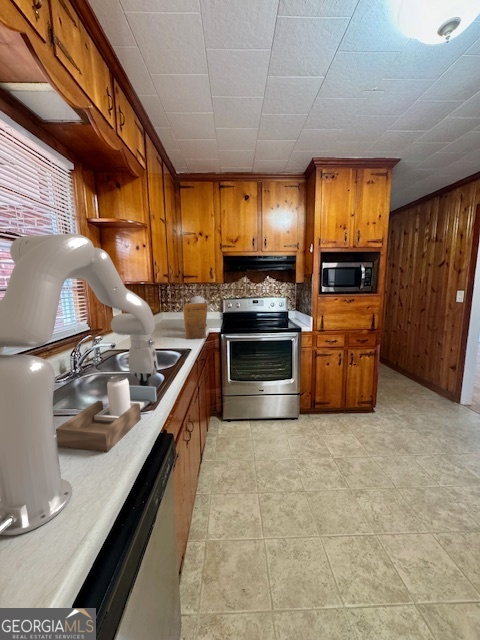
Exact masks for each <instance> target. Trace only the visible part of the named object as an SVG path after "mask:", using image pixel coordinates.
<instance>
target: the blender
mask: <svg viewBox="0 0 480 640" xmlns="http://www.w3.org/2000/svg"><path fill="white" fill-rule="evenodd" d="M195 303H207V311H209V301H208V299H206V298H205V297H201V295H195V296H194V297H191V298H190V304H195ZM206 327H207V323H206Z"/></svg>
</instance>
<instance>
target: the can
mask: <svg viewBox="0 0 480 640" xmlns="http://www.w3.org/2000/svg"><path fill="white" fill-rule="evenodd" d="M129 385H130V383H129V379H128V376H127V375H123V374H119V375H114V376H111V377H109V378H108V379H107V384H106V387H107V389H106V390H107V399H108V405H109V412H110V415H111V416H121V415H122V414H124V413H125V412H126V411H127V410H128V409H129V408H131V405H130V392H129Z"/></svg>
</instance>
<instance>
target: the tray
mask: <svg viewBox="0 0 480 640" xmlns="http://www.w3.org/2000/svg"><path fill="white" fill-rule="evenodd" d="M129 392H130V405H131V407H132V406H133V405H134V404H135V403H139V404H140V412H141V411H143V409H144V408H146V407H147V406H148V405H149V404H150V403H151V402H153V403H155V402H157V386H140V385H130V384H129ZM119 417H120V416H111V415H110V412H109V404H108V405H107V406H106V407H103V410H102V411H100V412H99V413H97V414H96V415H95V416H94V421H97V422H109V423H113V422H114V421H115V420H116V419H118V418H119Z"/></svg>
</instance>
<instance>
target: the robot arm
mask: <svg viewBox="0 0 480 640" xmlns="http://www.w3.org/2000/svg"><path fill="white" fill-rule="evenodd" d="M9 253H10V254H9V255H10V257H11V260H12V261H13V263H14V264H15V265H14V266H13V269H12V270H11V273H10V276H9V279H8V282H7V286H6V289H5V292H4V295H3V297H2V298H0V535H2V536H14V535H15V536H16V535H20V534H25V533H27V532H29V531H33V530H34V529H37V528H38V527H41V526H42V525H44V524H47V522H49V521H51V520H52V519H53V518H55V517H56V516H58V514H60V512H62V510H63V509H64V508H65V507H66V506H67V504H68V503H69V501H70V500H71V497H72V495H73V489H72V484H71V483H70V482H69V481H68V480H67V479H63V478H62V475H61V474H62V473H61V467H60V466H61V465H60V459H59V457H60V456H59V449H58V448H59V447H58V444H57V436H56V425H55V417H54V390H55V384H56V374H55V369H54V367H53V366H52V364H51V363H50V362H49V361H47V360H46V359H45V358H43V357H40V356H36V355H31V354H7V353H6V354H5V353H4V354H3V352H4V349H6V348H9V349H10V348H15V349H17V348H20V349H21V348H22V349H25V348H26V349H27V348H28V349H29V348H37V347H38V348H39V347H41V346H44V345H46V344H47V343H48V342H49V341H50V340H51V338H52V337H53V333H54V330H55V326H56V322H57V321H56V320H57V314H58V309H59V303H60V298H61V293H62V290H63V285H64V284H65V282H66V280H70V279H71V280H72V279H74V280H75V279H76V280H77V279H80V280H81V279H82V280H85V281H86V283H87V284H88V286H89V287H90V289H91V290H92V292H93V293H94V296H95V297H96V298H97V300H98V301H99V302H100V303H101V304H103V305H105V306H108V307H110V308H112V309H116V310H119V311H122V312H126V313H118V314H117V315H115V316H114V317H112V320H111V322H110V329H111V331H112V332H113V333H114V334H116V335H119V336H130V337H129V338H130V347H129V350H128V370H129V375H132V376H135V377H136V378H137V380H138V382H139V386H149V385H150V383H149V379H150V378H151V377H154V376H157V375H158V372H157V370H158V368H159V365H158V364H159V363H158V357H157V351H156V348H155V346H154V345H155V341H154V340H153V338H152V333H154V331H155V329H156V319H155V316H154V314H153V311H152V310H151V307H150V306H149V304H148V303H147V301H145V300H144V299H143V298H141V296H139V295H138V294H136V293H134V292H133V291H131V290H130V289H128V288H126V286H125V284H124V282H123V281H122V278H121V277H120V276H121V275H120V274H119V272H118V271H117V268H116V267H115V264H114V263H113V261H112V259H111V256H110V255H109V254H108V252H107V251H105V250H104V249H101V248H99V247H94V243H93V242H92V240H91V239H89V238H88V237H87V236H84V235H83V234H82V235H81V234H79V233H65V234H64V233H58V234H56V233H55V234H35V235H34V234H33V235H31V234H29V235H23V236H19V237H18V238H16V239H14V240H13V242H12V243H11V245H10V248H9ZM149 387H150V386H149Z"/></svg>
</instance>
